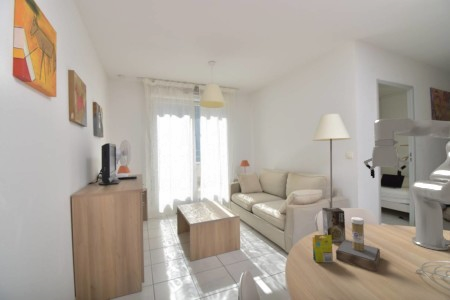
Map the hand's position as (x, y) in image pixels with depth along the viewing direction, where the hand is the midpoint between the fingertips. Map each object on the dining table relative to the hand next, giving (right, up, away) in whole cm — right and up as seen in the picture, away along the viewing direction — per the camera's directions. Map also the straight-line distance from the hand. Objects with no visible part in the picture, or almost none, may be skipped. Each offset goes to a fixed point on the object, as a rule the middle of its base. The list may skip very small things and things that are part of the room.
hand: (385, 178), depth 97 cm
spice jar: (-21, -30, -11) cm, 38 cm away
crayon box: (-37, -34, -12) cm, 52 cm away
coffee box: (-21, -34, +8) cm, 41 cm away
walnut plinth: (-21, -34, -11) cm, 41 cm away
